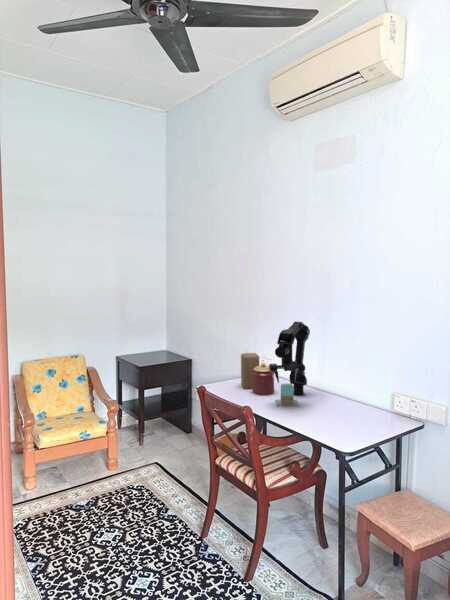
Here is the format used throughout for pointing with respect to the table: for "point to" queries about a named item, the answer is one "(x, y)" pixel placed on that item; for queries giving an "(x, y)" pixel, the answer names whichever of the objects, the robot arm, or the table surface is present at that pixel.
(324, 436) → the table surface
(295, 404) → the mat
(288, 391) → the teal block
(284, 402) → the walnut block
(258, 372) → the canister
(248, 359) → the wooden block
